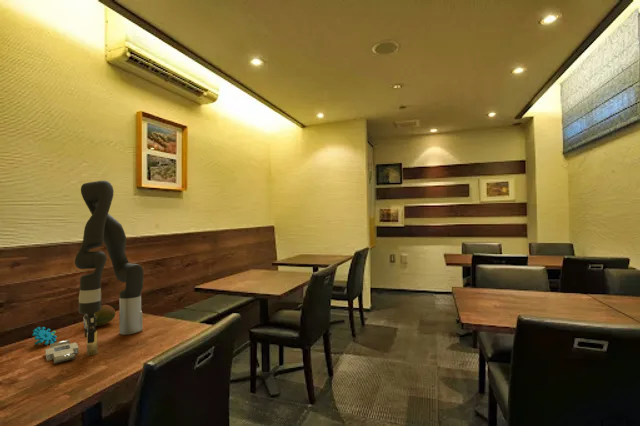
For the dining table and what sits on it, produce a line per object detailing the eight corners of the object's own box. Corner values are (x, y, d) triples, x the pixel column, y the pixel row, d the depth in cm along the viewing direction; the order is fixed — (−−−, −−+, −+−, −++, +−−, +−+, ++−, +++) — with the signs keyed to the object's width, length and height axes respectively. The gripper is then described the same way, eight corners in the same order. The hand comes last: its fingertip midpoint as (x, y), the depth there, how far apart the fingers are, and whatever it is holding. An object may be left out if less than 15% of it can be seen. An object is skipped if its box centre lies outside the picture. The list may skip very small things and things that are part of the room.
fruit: (119, 322, 172) (119, 303, 172) (98, 330, 159) (98, 310, 160) (101, 320, 174) (101, 302, 174) (79, 328, 162) (79, 308, 162)
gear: (44, 344, 137) (29, 328, 138) (33, 355, 137) (18, 338, 137) (64, 338, 148) (50, 323, 149) (54, 348, 148) (40, 332, 148)
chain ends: (73, 343, 143) (73, 337, 143) (81, 358, 127) (81, 351, 127) (44, 349, 136) (44, 343, 136) (48, 367, 120) (48, 359, 120)
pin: (96, 351, 134) (96, 329, 134) (98, 353, 132) (98, 331, 132) (86, 353, 132) (86, 331, 132) (87, 356, 129) (87, 334, 129)
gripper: (103, 301, 129) (103, 342, 129) (98, 295, 140) (97, 333, 139) (80, 304, 124) (79, 347, 124) (77, 298, 135) (76, 337, 134)
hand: (89, 339), depth 131 cm, fingers open, 8 cm apart
